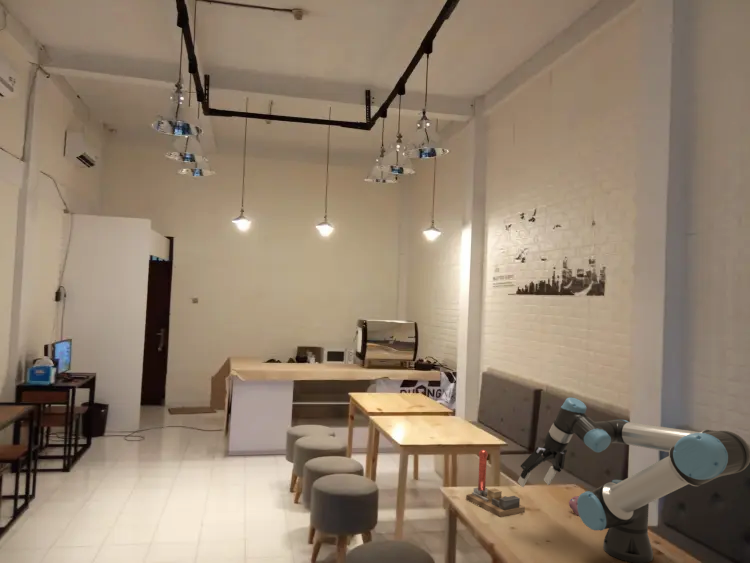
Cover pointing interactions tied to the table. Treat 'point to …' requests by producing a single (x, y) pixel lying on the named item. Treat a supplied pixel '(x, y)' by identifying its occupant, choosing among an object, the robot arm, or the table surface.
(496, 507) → the press bed
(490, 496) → the block
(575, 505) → the video game controller
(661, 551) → the table surface
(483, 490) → the press lever
